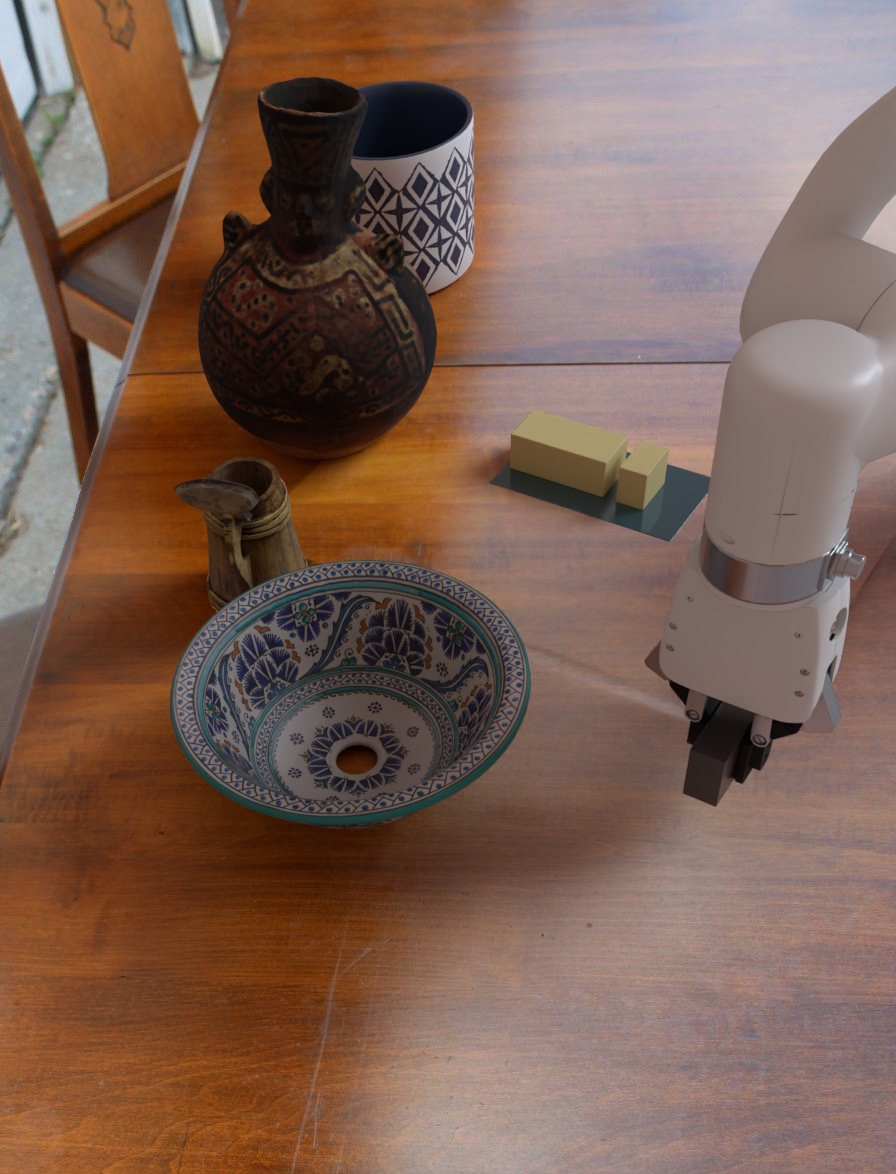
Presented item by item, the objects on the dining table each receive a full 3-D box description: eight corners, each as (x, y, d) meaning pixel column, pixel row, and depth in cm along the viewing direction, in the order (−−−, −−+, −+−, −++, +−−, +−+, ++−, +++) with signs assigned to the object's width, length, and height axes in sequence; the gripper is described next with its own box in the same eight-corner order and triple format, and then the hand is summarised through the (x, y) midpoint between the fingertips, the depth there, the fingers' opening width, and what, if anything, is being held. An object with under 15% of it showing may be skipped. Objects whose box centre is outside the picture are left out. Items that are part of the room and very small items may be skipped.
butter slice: (615, 502, 112) (619, 467, 109) (637, 475, 114) (641, 440, 111) (642, 510, 111) (647, 475, 108) (664, 483, 113) (669, 448, 110)
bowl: (189, 674, 107) (166, 583, 100) (498, 633, 106) (499, 537, 98) (197, 927, 92) (171, 843, 85) (556, 882, 91) (562, 792, 84)
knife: (715, 807, 88) (725, 763, 84) (682, 793, 89) (689, 749, 85) (826, 636, 95) (839, 588, 91) (794, 625, 96) (805, 577, 92)
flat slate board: (489, 492, 116) (489, 482, 115) (540, 435, 120) (540, 425, 119) (669, 551, 109) (670, 541, 108) (716, 488, 113) (718, 479, 112)
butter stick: (509, 468, 116) (510, 433, 113) (532, 442, 118) (533, 408, 115) (603, 497, 112) (605, 463, 110) (625, 471, 114) (628, 436, 111)
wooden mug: (185, 663, 108) (138, 479, 93) (221, 553, 116) (183, 366, 101) (292, 669, 106) (261, 482, 92) (321, 556, 114) (297, 367, 99)
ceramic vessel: (188, 483, 122) (115, 144, 98) (251, 372, 131) (198, 37, 107) (409, 509, 116) (390, 156, 92) (459, 391, 125) (453, 41, 101)
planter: (386, 323, 133) (377, 177, 122) (293, 266, 141) (276, 124, 130) (506, 259, 137) (508, 113, 126) (409, 207, 146) (402, 65, 134)
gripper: (938, 549, 73) (864, 766, 88) (667, 469, 80) (641, 683, 95) (885, 635, 70) (818, 845, 85) (608, 544, 77) (591, 753, 92)
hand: (725, 758), depth 90 cm, fingers closed on knife, 2 cm apart
